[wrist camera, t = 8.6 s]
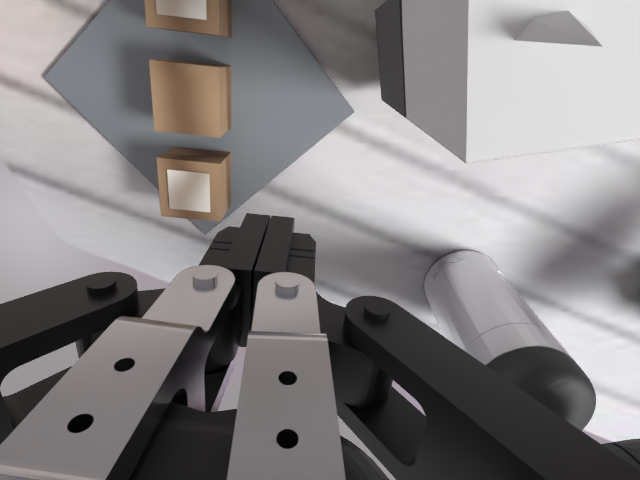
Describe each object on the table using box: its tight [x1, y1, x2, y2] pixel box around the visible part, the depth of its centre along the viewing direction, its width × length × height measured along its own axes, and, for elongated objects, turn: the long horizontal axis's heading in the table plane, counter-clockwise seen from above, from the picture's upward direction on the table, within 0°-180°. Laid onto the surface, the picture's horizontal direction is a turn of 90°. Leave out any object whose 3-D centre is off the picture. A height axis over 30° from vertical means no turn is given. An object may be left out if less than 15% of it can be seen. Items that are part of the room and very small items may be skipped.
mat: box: [44, 0, 354, 234], centre depth 39 cm, size 22×22×1 cm
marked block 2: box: [157, 146, 231, 222], centre depth 40 cm, size 6×6×5 cm
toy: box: [375, 0, 640, 164], centre depth 24 cm, size 15×7×30 cm, turn 98°
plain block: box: [149, 59, 232, 138], centre depth 37 cm, size 6×6×5 cm
